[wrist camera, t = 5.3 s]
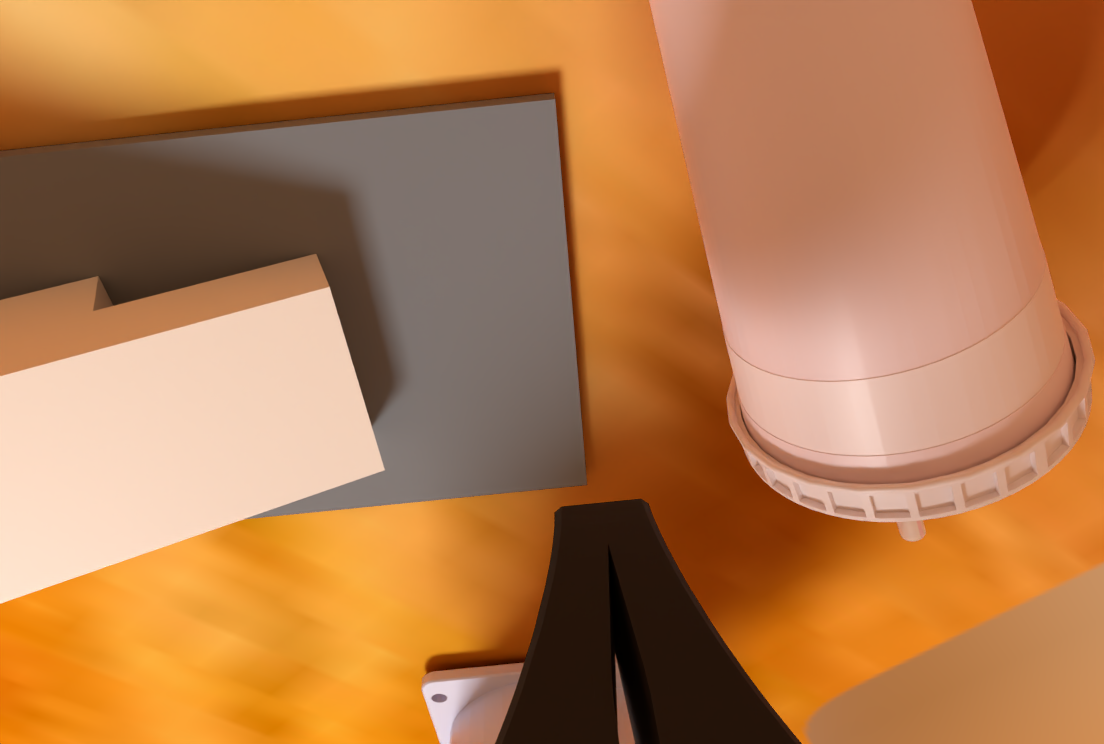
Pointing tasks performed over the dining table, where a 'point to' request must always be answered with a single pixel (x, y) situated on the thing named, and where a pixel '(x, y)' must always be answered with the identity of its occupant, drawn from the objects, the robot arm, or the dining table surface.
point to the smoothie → (872, 255)
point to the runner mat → (353, 268)
